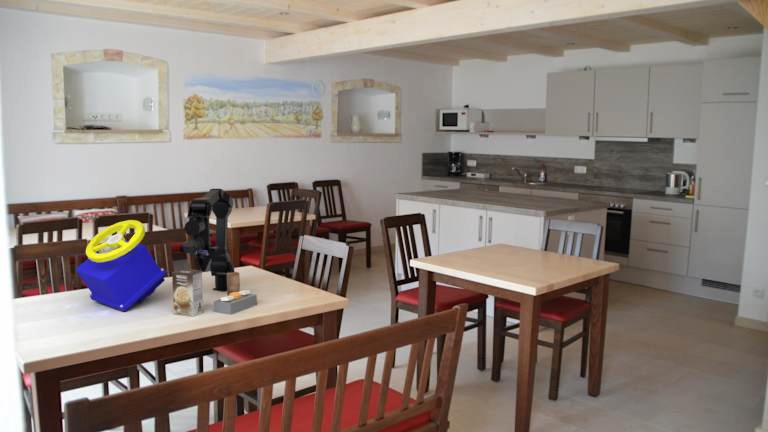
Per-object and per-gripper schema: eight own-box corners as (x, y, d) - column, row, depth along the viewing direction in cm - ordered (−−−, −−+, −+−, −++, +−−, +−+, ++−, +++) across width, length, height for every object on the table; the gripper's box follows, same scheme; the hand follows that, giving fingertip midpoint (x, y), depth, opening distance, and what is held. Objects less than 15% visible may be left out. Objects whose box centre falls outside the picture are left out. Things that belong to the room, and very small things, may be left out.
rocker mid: (228, 296, 241) (229, 293, 241) (234, 294, 244) (234, 291, 243) (236, 299, 239) (236, 296, 239) (241, 297, 242) (242, 294, 242)
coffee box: (172, 314, 234) (170, 271, 231) (183, 309, 240) (181, 268, 237) (193, 317, 231) (191, 273, 228) (204, 312, 237) (202, 270, 234)
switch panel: (214, 311, 237) (213, 301, 237) (240, 302, 250) (240, 292, 250) (230, 314, 234) (230, 304, 233) (256, 304, 247) (256, 294, 246)
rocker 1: (220, 300, 237) (220, 297, 237) (226, 298, 240) (226, 295, 239) (228, 300, 235) (227, 297, 235) (234, 298, 238) (233, 295, 238)
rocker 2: (237, 295, 245) (236, 292, 245) (242, 293, 248) (242, 290, 248) (244, 295, 243) (244, 292, 243) (250, 293, 246) (249, 290, 246)
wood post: (224, 298, 256) (224, 274, 255) (233, 295, 260) (232, 271, 259) (234, 299, 254) (233, 275, 252) (242, 297, 258) (242, 272, 257)
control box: (148, 269, 268) (113, 214, 251) (188, 282, 253) (154, 224, 236) (100, 312, 253) (59, 255, 236) (140, 328, 238) (99, 269, 221)
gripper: (168, 232, 241) (170, 273, 243) (205, 236, 233) (207, 278, 235) (189, 228, 251) (191, 267, 253) (226, 232, 243) (227, 272, 245)
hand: (203, 271), depth 246 cm, fingers closed
